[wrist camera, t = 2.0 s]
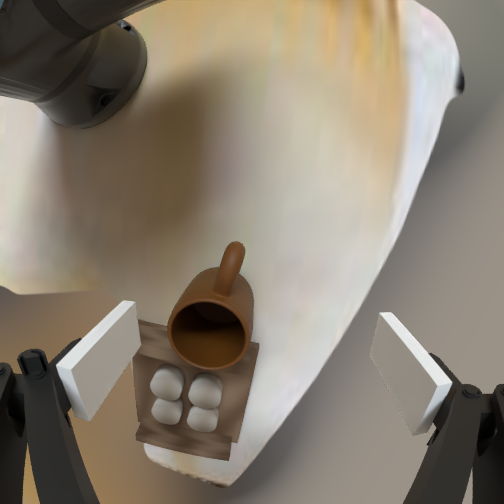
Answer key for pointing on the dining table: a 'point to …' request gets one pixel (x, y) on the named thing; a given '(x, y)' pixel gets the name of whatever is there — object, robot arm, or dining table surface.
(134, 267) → the dining table surface
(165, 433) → the peg stand
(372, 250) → the dining table surface
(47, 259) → the dining table surface
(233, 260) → the mug
